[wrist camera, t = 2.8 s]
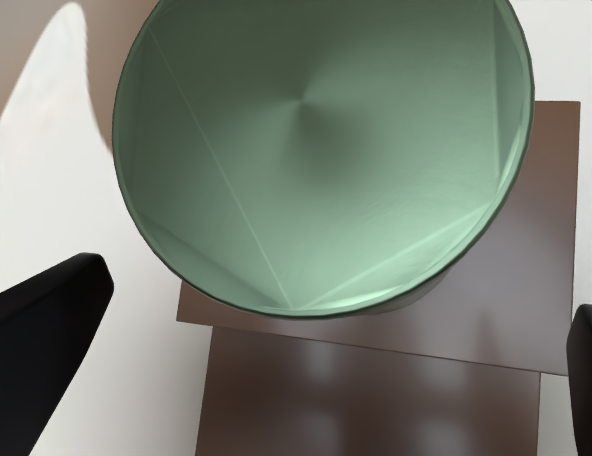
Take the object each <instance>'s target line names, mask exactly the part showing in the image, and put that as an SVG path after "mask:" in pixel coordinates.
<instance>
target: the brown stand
mask: <svg viewBox="0 0 592 456" xmlns="http://www.w3.org/2000/svg"><path fill="white" fill-rule="evenodd" d="M580 105H581V103H580V102H579V101H535V104H534V121H533V126H532V132H531V137H530V143H529V148H528V151H527V154H526V157H525V160H524V163H523V166H522V169H521V172H520V175H519V178H518V180H517V182H516V183H515V185H514V187H513V189H512V191H511V193H510V195H509V197H508V199H507V201H506V203H505V205H504V207H503V208H502V210H501V211H500V213H499V214H498V215H497V217H496V218H495V220H494V221H493V223H492V224H491V226H490V227H489V229H488V230H487V231H486V233H485V234H484V235H483V236H482V237H481V238H480V239H479V241H478V242H477V243H476V244H475V245H474V246H473V247H472V248H471V249H470V250H469V252H468V253H467V254H466V255H465V256H464V257H463V258H462V259H461V260H460V261H459V262H458V263H457V264H455V265H454V266H453V267H452V269H451V270H450V271H449V272H448V274H447V275H446V276H445V277H444V278H443V280H442V281H441V282H440V283H439V284H438V285H437V286H436V287H435V288H434V289H433V290H431V291H430V292H429V293H428V294H427V295H425V296H424V297H422V298H420V299H419V300H417V301H416V302H414V303H412V304H409V305H407V306H405V307H403V308H400V309H396V310H393V311H389V312H383V313H377V314H361V315H356V316H350V317H344V318H338V319H331V320H311V321H291V320H282V319H273V318H265V317H261V316H257V315H253V314H249V313H246V312H242V311H238V310H236V309H233V308H231V307H229V306H226V305H224V304H221V303H219V302H216V301H214V300H212V299H211V298H209V297H207V296H205V295H204V294H202V293H200V292H199V291H197V290H195V289H193V288H192V287H190V286H189V285H188V284H187V283H185V282H184V281H183V280H182V284H181V291H180V298H179V304H178V311H177V318H176V321H179V322H186V323H193V324H200V325H207V326H213V330H212V337H211V345H210V352H209V359H208V366H207V373H206V380H205V388H204V395H203V402H202V409H201V416H200V423H199V431H198V438H197V445H196V452H195V456H537V445H538V424H539V403H540V382H541V373H546V374H553V375H560V376H567V377H568V366H567V355H566V342H567V337H568V334H569V331H570V328H571V325H572V304H573V279H574V254H575V229H576V205H577V180H578V155H579V130H580Z"/></svg>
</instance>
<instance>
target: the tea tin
mask: <svg viewBox="0 0 592 456" xmlns="http://www.w3.org/2000/svg"><path fill="white" fill-rule="evenodd" d="M534 104H535V84H534V75H533V67H532V59H531V55H530V52H529V48H528V45H527V41H526V38H525V34H524V31H523V29H522V26H521V24H520V22H519V20H518V18H517V16H516V13H515V11H514V9H513V7H512V5H511V3H510V2H509V0H160V1H159V2H158V3H157V5H156V6H155V8H154V9H153V10H152V12H151V13H150V15H149V17H148V18H147V19H146V21H145V22H144V24H143V26H142V27H141V30H140V31H139V33H138V35H137V37H136V39H135V40H134V42H133V44H132V47H131V49H130V51H129V54H128V56H127V59H126V61H125V64H124V66H123V69H122V73H121V76H120V80H119V84H118V87H117V91H116V97H115V104H114V110H113V122H112V147H113V159H114V166H115V170H116V175H117V180H118V184H119V188H120V191H121V194H122V196H123V199H124V202H125V205H126V207H127V210H128V212H129V214H130V216H131V218H132V220H133V221H134V223H135V225H136V227H137V229H138V231H139V233H140V234H141V236H142V237H143V238H144V240H145V241H146V243H147V244H148V245H149V247H150V248H151V250H152V251H153V253H154V254H155V255H156V256H157V257H158V258H159V259H160V260H161V261H162V262H163V263H164V264H165V265H166V266H167V267H168V268H169V269H170V271H171V272H173V273H174V274H175V275H177V276H178V277H179V278H180V279H182V280H183V281H184V282H185V283H187V284H188V285H189V286H190V287H192V288H193V289H195V290H197V291H199V292H200V293H202V294H204V295H205V296H207V297H209V298H211V299H212V300H214V301H216V302H219V303H221V304H224V305H226V306H229V307H231V308H233V309H236V310H238V311H242V312H246V313H249V314H253V315H257V316H261V317H265V318H273V319H282V320H291V321H311V320H331V319H338V318H344V317H350V316H356V315H361V314H377V313H383V312H389V311H393V310H396V309H400V308H403V307H405V306H407V305H409V304H412V303H414V302H416V301H417V300H419V299H420V298H422V297H424V296H425V295H427V294H428V293H429V292H430V291H431V290H433V289H434V288H435V287H436V286H437V285H438V284H439V283H440V282H441V281H442V280H443V278H444V277H445V276H446V275H447V274H448V272H449V271H450V270H451V269H452V267H453V266H454V265H455V264H457V263H458V262H459V261H460V260H461V259H462V258H463V257H464V256H465V255H466V254H467V253H468V252H469V250H470V249H471V248H472V247H473V246H474V245H475V244H476V243H477V242H478V241H479V239H480V238H481V237H482V236H483V235H484V234H485V233H486V231H487V230H488V229H489V227H490V226H491V224H492V223H493V221H494V220H495V218H496V217H497V215H498V214H499V213H500V211H501V210H502V208H503V207H504V205H505V203H506V201H507V199H508V197H509V195H510V193H511V191H512V189H513V187H514V185H515V183H516V182H517V180H518V178H519V175H520V172H521V169H522V166H523V163H524V160H525V157H526V154H527V151H528V148H529V143H530V137H531V132H532V126H533V121H534Z"/></svg>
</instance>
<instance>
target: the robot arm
mask: <svg viewBox="0 0 592 456" xmlns="http://www.w3.org/2000/svg"><path fill="white" fill-rule="evenodd" d="M113 292H114V282H113V280H112V277H111V275H110V272H109V270H108V267H107V265H106V262H105V260H104V258H103V257H102V256H101V255H99V254H95V253H79V254H77V255H75V256H73V257H71V258H69V259H67V260H65V261H63V262H61V263H59V264H57V265H55V266H53V267H51V268H49V269H47V270H45V271H43V272H41V273H39V274H37V275H35V276H33V277H31V278H29V279H27V280H25V281H23V282H21V283H19V284H17V285H15V286H13V287H11V288H9V289H7V290H5V291H3V292H1V293H0V456H29V454H30V453H31V451H32V449H33V447H34V446H35V444H36V442H37V440H38V439H39V437H40V435H41V433H42V432H43V430H44V428H45V426H46V425H47V423H48V421H49V419H50V418H51V416H52V414H53V412H54V411H55V409H56V407H57V405H58V404H59V402H60V400H61V398H62V397H63V395H64V393H65V391H66V390H67V388H68V386H69V384H70V383H71V381H72V379H73V377H74V375H75V374H76V372H77V370H78V368H79V367H80V365H81V363H82V361H83V359H84V357H85V355H86V353H87V351H88V349H89V347H90V345H91V343H92V340H93V338H94V336H95V334H96V331H97V329H98V327H99V325H100V322H101V320H102V318H103V316H104V313H105V311H106V309H107V307H108V304H109V302H110V300H111V298H112V295H113ZM566 355H567V366H568V376H569V387H570V397H571V408H572V418H573V428H574V436H575V442H576V447H577V452H578V456H592V305H590V304H582V305H580V306H579V307H578V309H577V311H576V314H575V317H574V319H573V322H572V325H571V328H570V331H569V334H568V337H567V342H566Z"/></svg>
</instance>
